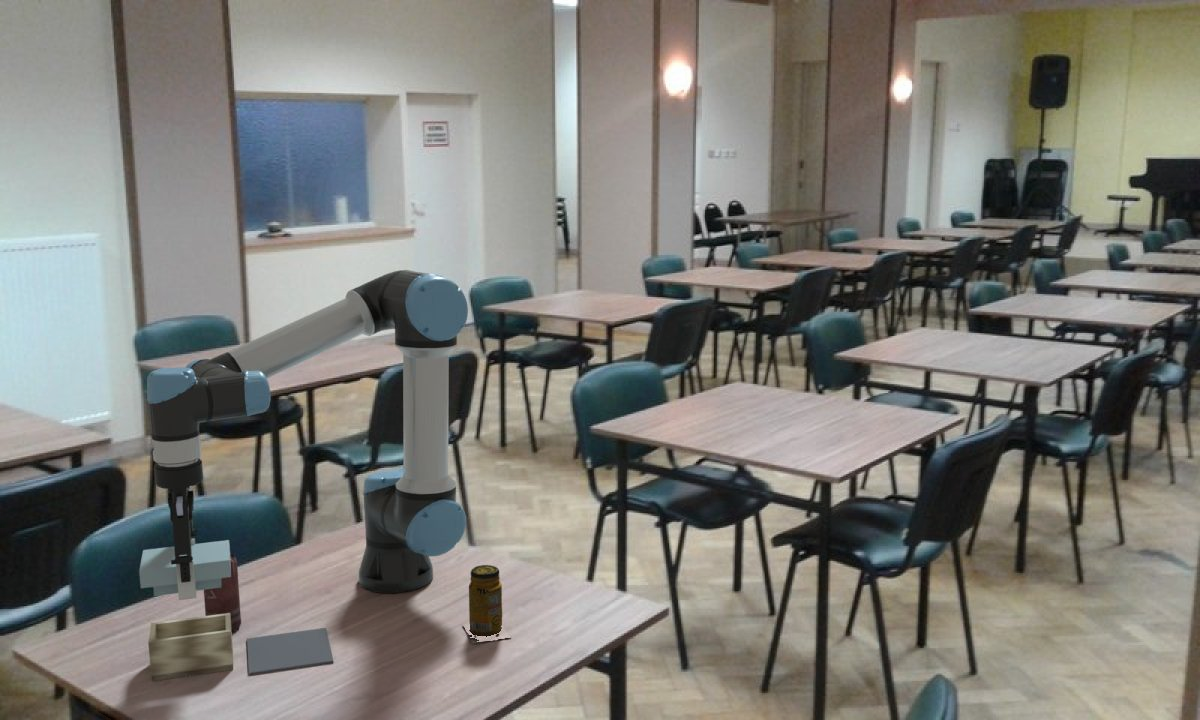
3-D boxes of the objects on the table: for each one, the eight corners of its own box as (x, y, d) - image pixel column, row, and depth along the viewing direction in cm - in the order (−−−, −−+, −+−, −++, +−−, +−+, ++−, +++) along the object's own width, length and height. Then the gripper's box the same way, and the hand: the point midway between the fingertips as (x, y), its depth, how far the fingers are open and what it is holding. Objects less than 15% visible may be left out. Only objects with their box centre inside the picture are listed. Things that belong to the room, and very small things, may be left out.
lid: (231, 569, 192) (229, 540, 191) (232, 590, 182) (229, 560, 181) (146, 580, 187) (143, 550, 186) (142, 602, 178) (139, 571, 177)
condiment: (499, 620, 205) (498, 560, 203) (511, 639, 198) (510, 576, 195) (461, 626, 203) (460, 565, 201) (472, 645, 195) (470, 582, 193)
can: (231, 636, 198) (226, 564, 196) (200, 633, 200) (194, 561, 197) (248, 623, 204) (244, 552, 202) (218, 620, 205) (213, 550, 203)
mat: (326, 629, 201) (326, 627, 201) (333, 662, 188) (333, 660, 188) (247, 640, 197) (246, 638, 197) (249, 675, 184) (248, 672, 184)
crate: (232, 649, 193) (230, 612, 192) (233, 669, 186) (230, 631, 184) (154, 660, 189) (151, 623, 188) (151, 681, 182) (148, 642, 180)
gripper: (157, 445, 190) (167, 565, 194) (149, 482, 169) (161, 615, 173) (202, 441, 192) (212, 560, 196) (200, 477, 171) (211, 609, 175)
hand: (188, 586), depth 185 cm, fingers closed on lid, 10 cm apart
